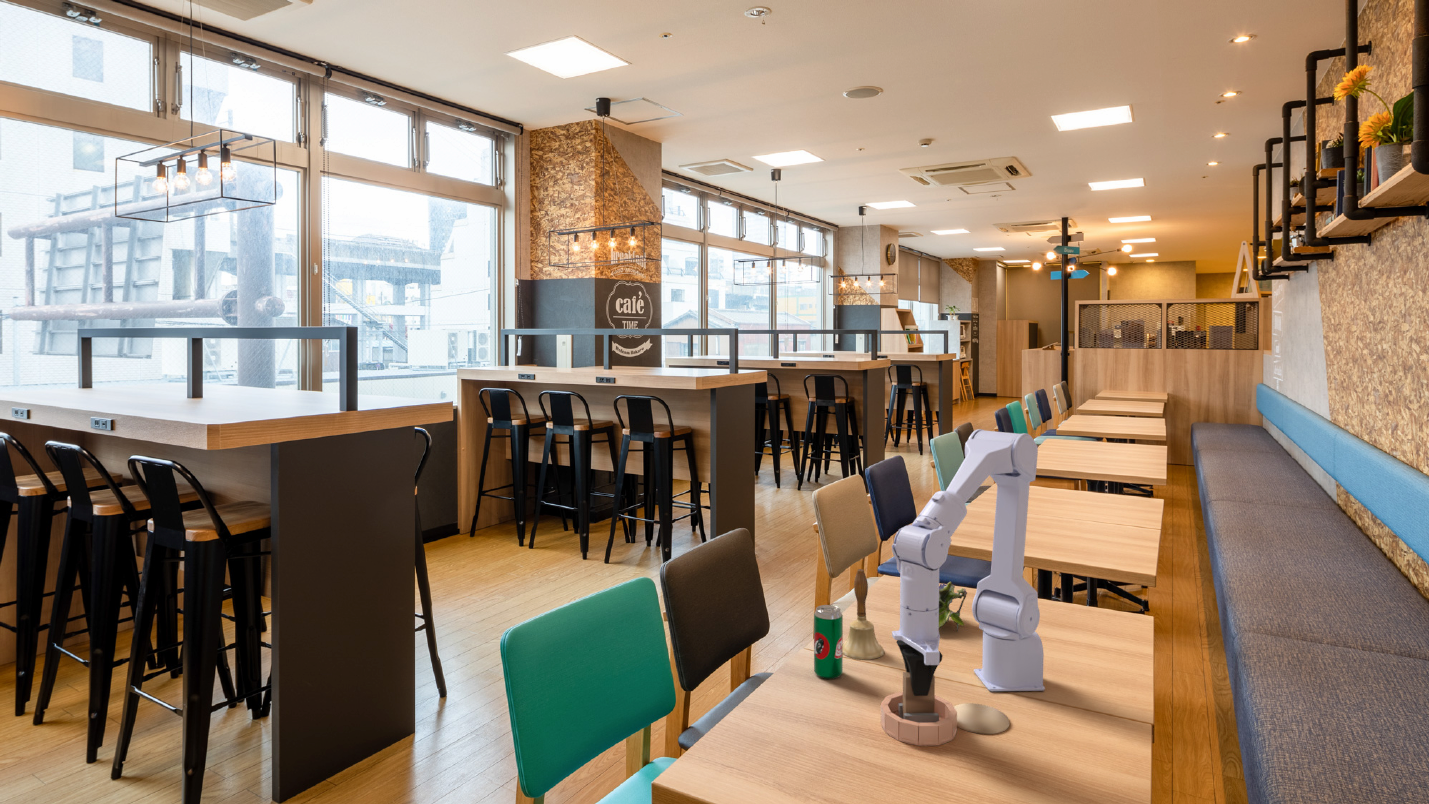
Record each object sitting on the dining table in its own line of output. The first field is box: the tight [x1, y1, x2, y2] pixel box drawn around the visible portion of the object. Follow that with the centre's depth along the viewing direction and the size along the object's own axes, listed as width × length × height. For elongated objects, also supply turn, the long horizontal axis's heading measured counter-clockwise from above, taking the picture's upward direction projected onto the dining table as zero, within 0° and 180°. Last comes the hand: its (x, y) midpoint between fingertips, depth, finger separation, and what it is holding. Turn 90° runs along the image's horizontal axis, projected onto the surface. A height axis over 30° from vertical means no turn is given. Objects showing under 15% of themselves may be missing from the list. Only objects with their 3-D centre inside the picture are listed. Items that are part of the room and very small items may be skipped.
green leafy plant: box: [939, 581, 968, 632], centre depth 158 cm, size 11×11×12 cm
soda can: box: [813, 604, 844, 680], centre depth 136 cm, size 5×5×12 cm
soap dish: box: [880, 691, 958, 747], centre depth 118 cm, size 11×11×3 cm
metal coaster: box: [953, 702, 1010, 735], centre depth 120 cm, size 9×9×1 cm
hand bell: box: [843, 568, 885, 661], centre depth 146 cm, size 8×8×16 cm
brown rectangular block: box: [902, 671, 936, 718], centre depth 118 cm, size 4×2×7 cm, turn 90°
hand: (918, 691), depth 117 cm, fingers closed on brown rectangular block, 2 cm apart
